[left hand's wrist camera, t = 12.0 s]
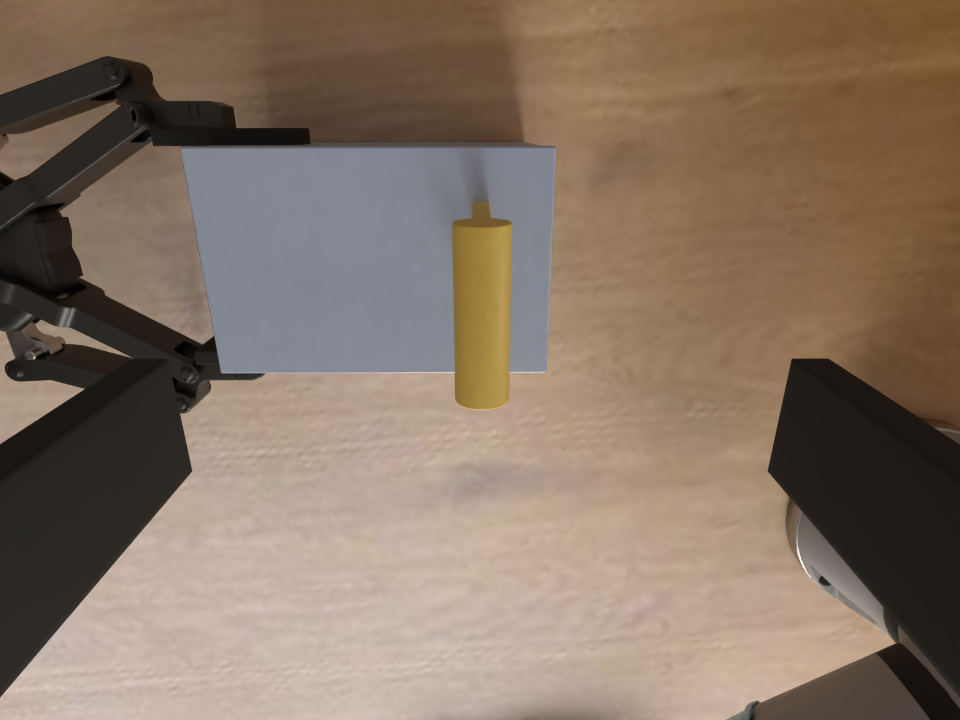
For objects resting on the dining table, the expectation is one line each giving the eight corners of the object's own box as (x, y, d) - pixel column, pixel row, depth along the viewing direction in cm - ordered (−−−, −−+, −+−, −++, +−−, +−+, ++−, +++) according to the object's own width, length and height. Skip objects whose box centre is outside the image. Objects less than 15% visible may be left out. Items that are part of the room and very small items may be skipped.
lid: (554, 145, 25) (592, 153, 16) (544, 366, 28) (572, 463, 20) (188, 146, 25) (42, 153, 16) (227, 367, 28) (124, 464, 20)
